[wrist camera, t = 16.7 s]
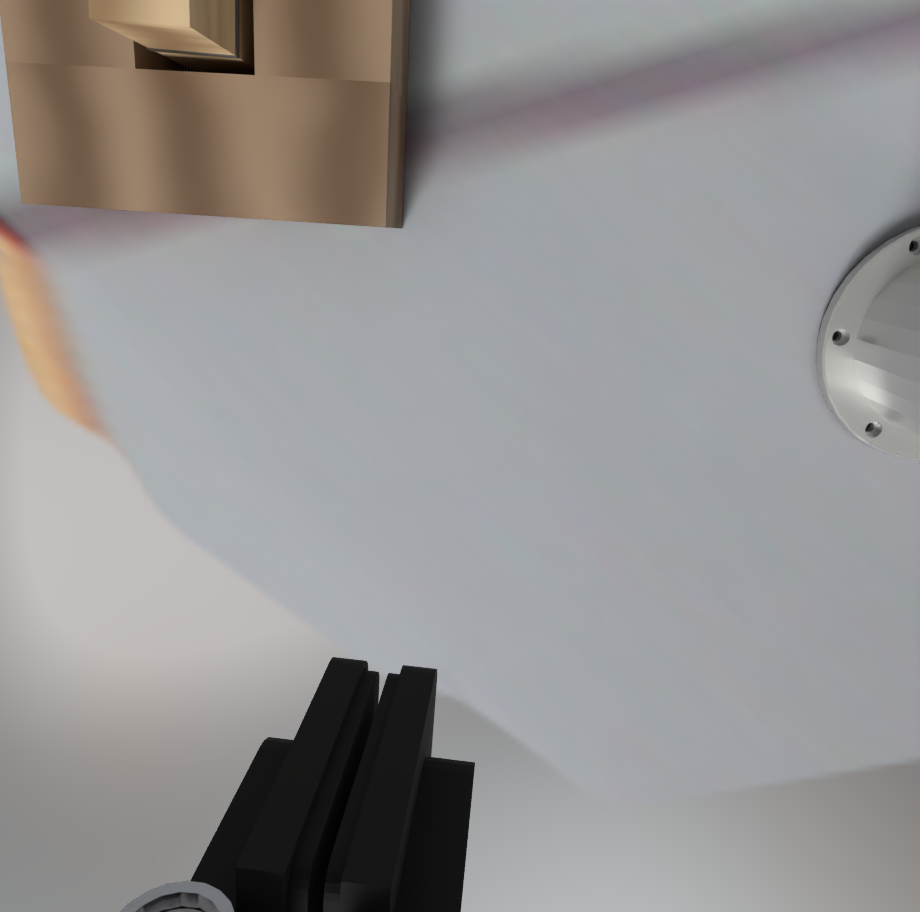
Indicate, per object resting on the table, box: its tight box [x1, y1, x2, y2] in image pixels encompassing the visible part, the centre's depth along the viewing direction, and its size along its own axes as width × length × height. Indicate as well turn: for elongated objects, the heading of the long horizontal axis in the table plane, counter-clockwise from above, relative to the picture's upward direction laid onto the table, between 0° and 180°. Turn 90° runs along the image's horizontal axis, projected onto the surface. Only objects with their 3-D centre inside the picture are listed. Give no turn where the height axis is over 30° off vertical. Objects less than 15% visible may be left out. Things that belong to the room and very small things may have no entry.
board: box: [0, 0, 411, 228], centre depth 34 cm, size 18×18×5 cm
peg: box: [88, 0, 255, 75], centre depth 32 cm, size 4×4×10 cm
